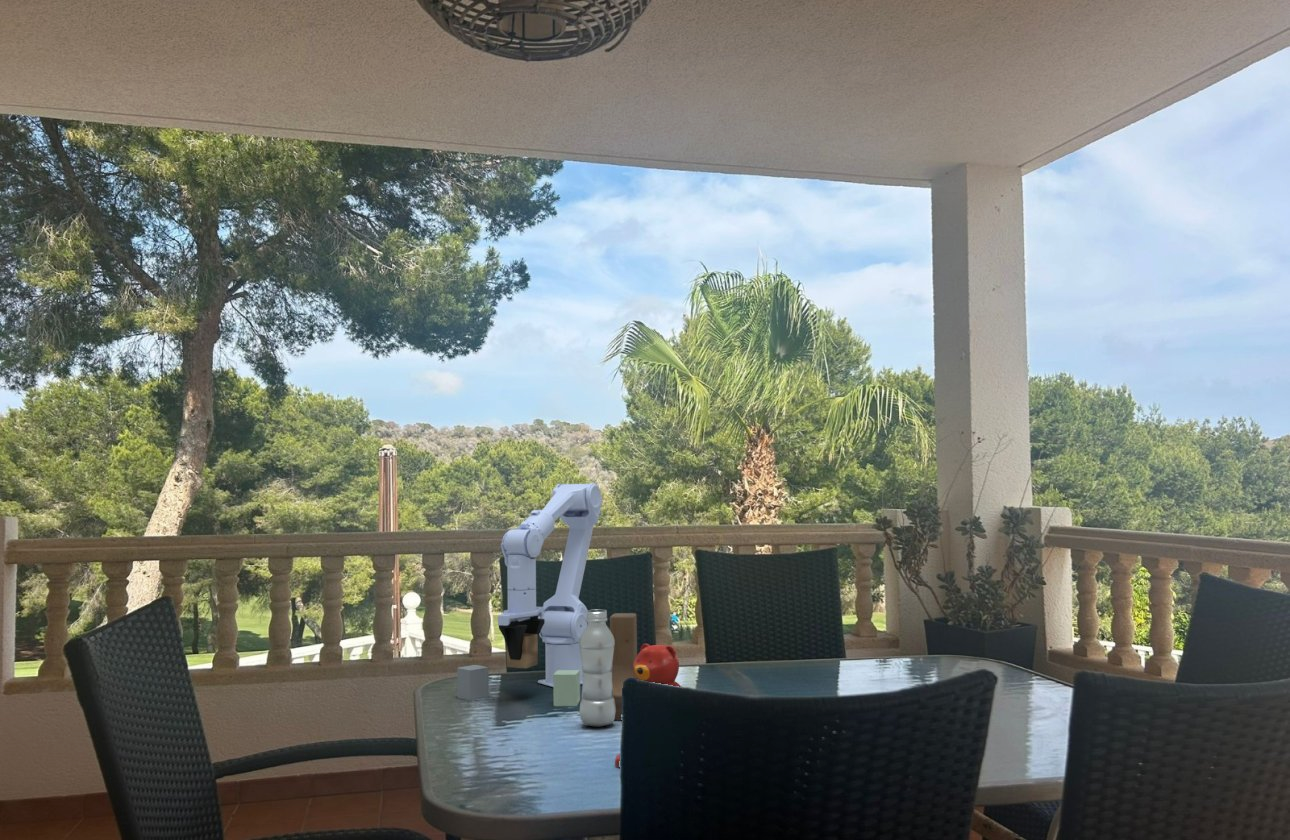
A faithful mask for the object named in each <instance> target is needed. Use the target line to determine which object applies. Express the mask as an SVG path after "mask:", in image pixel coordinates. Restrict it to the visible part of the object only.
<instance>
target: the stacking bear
mask: <svg viewBox="0 0 1290 840" xmlns="http://www.w3.org/2000/svg"><path fill="white" fill-rule="evenodd" d="M679 669H680V662H679V658H678V656H677V651H676V648H675V647H674V646H672V645H664V644H654V645H650V644H649V643H643V644H642V645H641V646H640V651H639V652H638V653H637V657H636V659H635V661H634V664H633V670H634V674H635V676H636V678H637V680H638V679H639V680H644V681H648V682H655V683H661V684H668V685H673V686H679V687H682V685H680V683H678V682H677V681H676V679H677V677H678V674H679ZM619 761H620V753H618V754H617V755H616V756H615V759H614V766H615V767H616V768H619Z"/></svg>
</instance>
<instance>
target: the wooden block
mask: <svg viewBox="0 0 1290 840" xmlns="http://www.w3.org/2000/svg"><path fill="white" fill-rule="evenodd" d="M637 627H638V624H637V613H636V612H635V613H634V612H628V613H627V612H626V613H625V612H623V613H622V612H616V613H613V614H611V615H610V617H609V629H610V631H611V632H612V634H613V636H614V640H615V645H614V653H613V662H612V684H613V695H614V696H613V697H614V700H615V705H616V714H615V719H614V721H622V720H621V714H622V688H623V682H624V681H625V680H626V679H628V678H636V676H635V674H634V670H633V664H634V661H635V659H636V657H637V655H638V633H637V632H638V631H637V629H638V628H637Z"/></svg>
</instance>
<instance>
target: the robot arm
mask: <svg viewBox="0 0 1290 840" xmlns="http://www.w3.org/2000/svg"><path fill="white" fill-rule="evenodd" d="M602 501H603V496H602V494H601V489H600V487H599V485H597V483H595V482H590V483H567V484H566V483H565V484H564V483H558V484H556V485H555V487H554V488H553V489H552V491H551V498H550V500H549V501H548V502H547V503H546V505H545V506H544V507H543V509H534V510H531V512H530V514H529V515H528V517H526V519H525V520H523V521H522V522H521V523H520V524H519V526H517V528H516V529H513V528H512V529H509V530H508V531H507V532H506V533H505V534H504V535H503V537H502V541H501V543H500V548H501V552H502V554H503V556H504V564H505V566H506V567H507V569H506V570H507V609H505V610H503V611H502V612H503V613H501V614H497V626H498V629H499V631H500V633H501V635H502V637H503V639H504V642H505V644H506V649H507V648H508V652H509V656H510V659H511V660H520V659H521V655H522V644H523V638H524V634H538V637H540V638H541V639H542V641H541V642H542V643H545V645H544V647H545V648H544V649H545V650H544V651H545V653H544V654H545V679H539V680H537V683H538V684H542V685H543V686H544V685H545V686H548V687H552V688H553V674H554V673H555V672H556V671H557V670H580V685H582V684H583V675H582V674H583V671H582V661H581V654H580V647H579V640H580V636H581V634H582V633H583V631H584V629H585V628H586V626H587V624H588V622H586V618H587V610H588V608H587V606H586V605H585V604H584V603H583V602H582V601H581V600H580V599H579V597H580V593H581V589H582V583H583V578H584V573H585V570H586V565H587V559H588V555H589V550H590V545H591V540H592V536H593V531H594V525H596V524H597V523H598V521H599V518H600V517H599V516H600V512H601V508H602V503H603V502H602ZM559 518H560V520H561V522H562V523H563V524H564V525H566V526H568V527H569V531H568V536H567V540H566V545H565V549H564V554H563V559H562V564H561V568H560V572H559V577H558V581H557V585H556V590H555V594H553V596H551V597H550V598H548V599H547V600H546V601H544V602H543V605H542V606H537V562H536V561H537V559H536V558H537V557H538V556H540V554H541V551H542V548H543V547H542V546H543V545H544V542H545V539H547V538H548V537H549V535H550V534H551V533H552V532H553V531H554V529H555V522H556V521H557V520H559Z"/></svg>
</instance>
